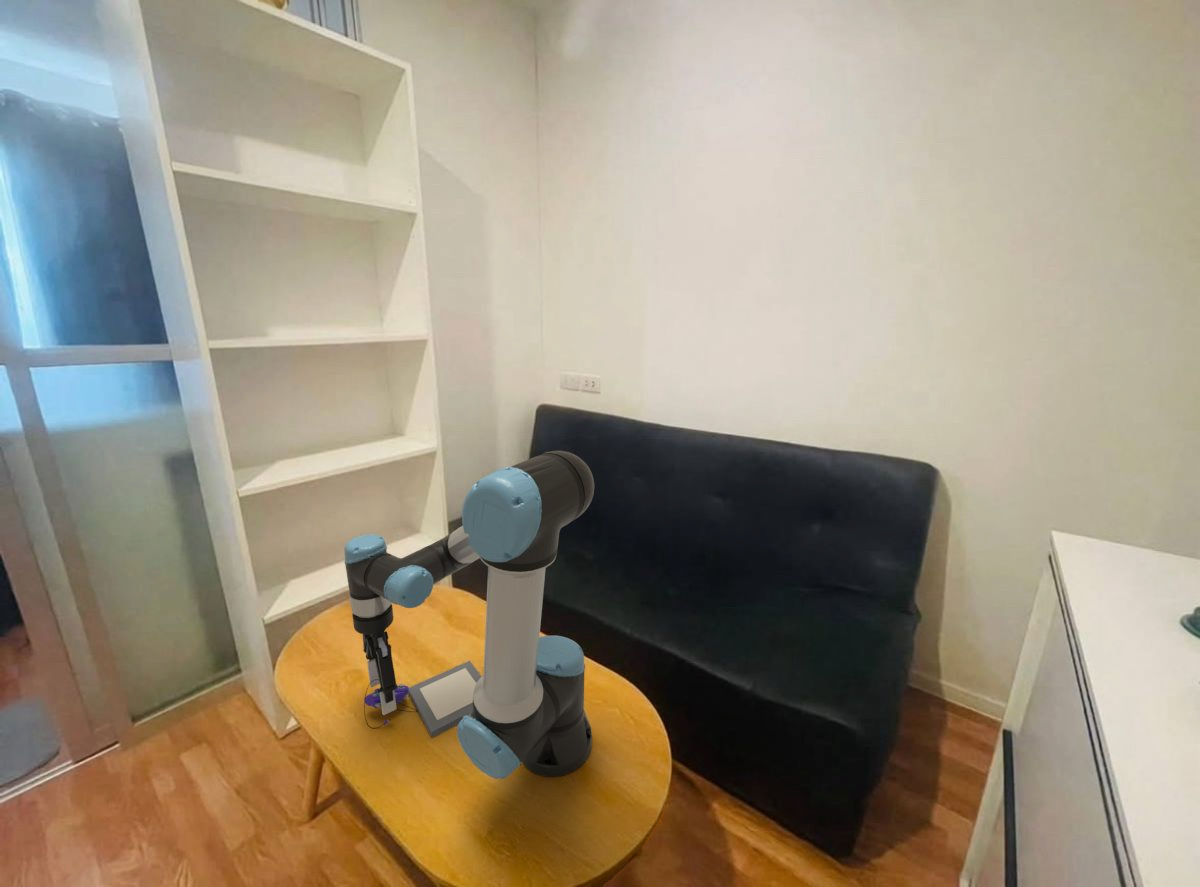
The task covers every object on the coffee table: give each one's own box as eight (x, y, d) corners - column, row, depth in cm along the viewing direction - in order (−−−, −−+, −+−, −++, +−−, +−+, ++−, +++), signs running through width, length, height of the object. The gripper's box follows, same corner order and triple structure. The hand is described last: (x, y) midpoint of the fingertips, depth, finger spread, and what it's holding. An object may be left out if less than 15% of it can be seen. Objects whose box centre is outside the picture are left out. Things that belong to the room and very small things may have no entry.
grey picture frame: (497, 703, 109) (497, 697, 109) (431, 737, 100) (431, 731, 100) (470, 665, 121) (469, 659, 120) (408, 693, 112) (407, 687, 111)
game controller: (398, 669, 114) (420, 682, 107) (395, 705, 113) (416, 721, 106) (355, 680, 106) (375, 695, 100) (350, 719, 105) (371, 737, 99)
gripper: (407, 627, 94) (416, 721, 101) (377, 579, 111) (386, 661, 117) (366, 643, 90) (378, 739, 96) (340, 589, 106) (352, 675, 112)
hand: (382, 697), depth 106 cm, fingers closed on game controller, 9 cm apart
